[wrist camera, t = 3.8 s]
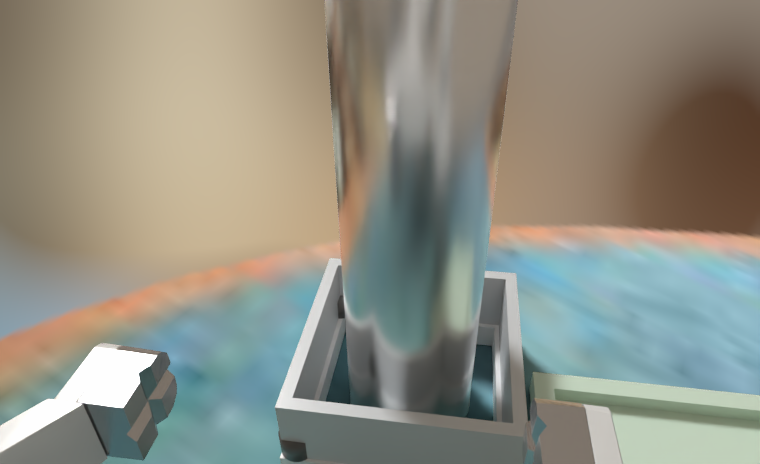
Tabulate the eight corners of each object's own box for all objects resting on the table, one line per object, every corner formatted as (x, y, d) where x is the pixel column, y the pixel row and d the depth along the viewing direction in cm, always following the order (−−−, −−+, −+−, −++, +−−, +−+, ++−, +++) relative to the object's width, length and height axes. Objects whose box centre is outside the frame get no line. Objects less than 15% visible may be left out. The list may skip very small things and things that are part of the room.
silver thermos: (395, 337, 34) (397, -159, 20) (490, 386, 31) (573, -163, 17) (325, 408, 30) (266, -159, 16) (428, 474, 27) (468, -163, 13)
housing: (508, 334, 34) (518, 270, 32) (517, 510, 25) (533, 443, 22) (332, 317, 36) (327, 255, 33) (280, 478, 27) (267, 411, 24)
